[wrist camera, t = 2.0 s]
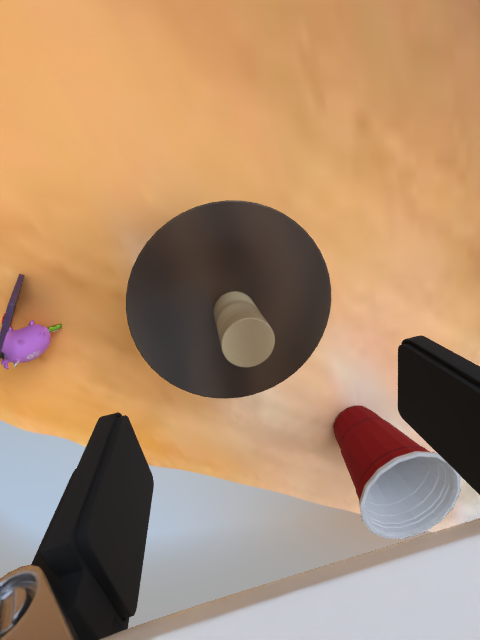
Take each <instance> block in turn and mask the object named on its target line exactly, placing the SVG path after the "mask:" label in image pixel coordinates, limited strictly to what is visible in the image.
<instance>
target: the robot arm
mask: <svg viewBox="0 0 480 640" xmlns="http://www.w3.org/2000/svg"><path fill="white" fill-rule="evenodd" d="M398 411H399V413H400V415H401V417H402V418H403V419H404V420H405V421H406V422H407V423H408V424H409V425H410V426H411V427H412V428H413V429H414V430H415V431H416V432H417V433H418V434H419V435H420V436H421V437H422V438H423V439H424V440H425V441H426V442H427V443H428V444H429V445H430V446H431V447H432V448H433V449H434V450H435V451H436V452H437V453H438V454H439V455H440V456H441V457H442V458H443V459H444V460H445V461H446V462H447V463H448V464H449V465H450V466H451V467H452V468H453V469H454V470H455V471H456V472H457V473H458V474H459V475H460V476H461V477H462V478H463V479H464V480H465V481H466V482H467V483H468V484H469V485H470V486H471V487H472V488H473V489H474V490H475V491H477V492H478V493H479V494H480V367H479V366H478V365H476V364H474V363H472V362H470V361H468V360H467V359H465V358H463V357H461V356H459V355H457V354H456V353H454V352H452V351H450V350H448V349H446V348H445V347H443V346H441V345H439V344H437V343H435V342H433V341H432V340H430V339H428V338H426V337H424V336H416V337H412V338H409V339H405V340H403V342H402V345H400V346H399V347H398ZM153 486H154V483H153V476H152V473H151V471H150V469H149V466H148V464H147V461H146V459H145V457H144V454H143V452H142V449H141V447H140V445H139V442H138V440H137V437H136V435H135V433H134V430H133V428H132V425H131V423H130V421H129V418H128V417H127V416H126V415H125V416H122V415H121V414H120V413H114V414H110V415H106V416H103V417H100V418H99V420H98V422H97V424H96V426H95V428H94V431H93V433H92V435H91V437H90V440H89V442H88V444H87V446H86V449H85V451H84V453H83V455H82V458H81V460H80V462H79V465H78V466H77V468H76V469H75V471H74V472H73V474H72V476H71V478H70V480H69V483H68V485H67V487H66V489H65V492H64V494H63V496H62V498H61V500H60V502H59V505H58V507H57V509H56V511H55V514H54V516H53V518H52V520H51V522H50V524H49V527H48V529H47V531H46V533H45V535H44V538H43V540H42V542H41V544H40V546H39V549H38V551H37V553H36V555H35V558H34V560H33V562H32V564H31V565H27V566H22V567H19V568H17V569H15V570H13V571H11V572H9V573H8V574H6V575H5V576H3V577H2V578H1V579H0V640H480V519H477V520H473V521H470V522H467V523H463V524H460V525H457V526H453V527H450V528H447V529H443V530H440V531H437V532H433V533H430V534H427V535H423V536H420V537H417V538H414V539H410V540H407V541H404V542H400V543H397V544H394V545H391V546H387V547H384V548H381V549H378V550H374V551H371V552H368V553H364V554H361V555H358V556H355V557H351V558H348V559H345V560H342V561H339V562H335V563H332V564H329V565H325V566H322V567H319V568H316V569H312V570H309V571H306V572H303V573H299V574H297V575H293V576H290V577H287V578H283V579H280V580H277V581H274V582H271V583H268V584H264V585H261V586H258V587H255V588H252V589H249V590H245V591H242V592H239V593H236V594H233V595H229V596H226V597H223V598H220V599H217V600H214V601H210V602H207V603H204V604H201V605H197V606H194V607H192V608H188V609H185V610H182V611H179V612H177V613H173V614H171V615H168V616H165V617H162V618H159V619H156V620H153V621H150V622H147V623H144V624H141V625H138V626H135V627H132V628H129V629H128V622H129V617H131V616H134V614H135V612H136V608H137V602H138V595H139V587H140V580H141V573H142V566H143V559H144V552H145V544H146V537H147V530H148V523H149V516H150V508H151V501H152V493H153Z"/></svg>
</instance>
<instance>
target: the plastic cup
mask: <svg viewBox="0 0 480 640" xmlns="http://www.w3.org/2000/svg"><path fill="white" fill-rule="evenodd" d="M334 433H335V437H336V439H337V442H338V444H339V447H340V449H341V453H342V456H343V458H344V461H345V463H346V466H347V468H348V471H349V473H350V476H351V478H352V481H353V483H354V486H355V488H356V493H357V495H358V498H359V504H360V510H361V517H362V521H363V522H364V524H365V525H366V526H367V527H368V528H369V530H370V531H371V532H372V533H374V534H376V535H379V536H382V537H384V538H387V539H396V538H398V539H400V538H402V539H404V538H408V537H411V536H414V535H417V534H421V533H424V532H425V531H427V530H428V529H430V528H431V527H433V526H434V525H436V524H438V523H439V522H441V520H442V519H443V518H444V517H445V516H446V515H447V514H448V513H449V511H450V510H451V509H452V508H453V507H454V505H455V502H456V500H457V498H458V495H459V493H460V491H461V490H460V475H459V474H458V473H457V472H456V471H455V470H454V469H453V468H452V467H451V466H450V465H449V464H448V463H447V462H446V461H445V460H444V459H443V458H442V457H441V456H440V455H439V454H437V453H435V452H430V451H428V450H426V449H425V448H423V447H421V446H420V445H418V444H417V443H416V442H414V441H413V440H411V439H410V438H409V437H407V436H406V435H405V434H403V433H402V432H401V431H399V430H398V429H397V428H395V427H394V426H392V425H391V424H390V423H388V422H387V421H385V420H383V419H382V418H381V417H379V416H378V415H377V414H375V413H374V412H373V411H371V410H369V409H367V408H365V407H363V406H353V407H350V408H347V409H346V410H344V411H343V412H341V413H340V414H339V416H338V417H337V418H336V420H335V423H334Z"/></svg>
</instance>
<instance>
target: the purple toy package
mask: <svg viewBox="0 0 480 640" xmlns="http://www.w3.org/2000/svg"><path fill="white" fill-rule="evenodd" d="M23 279H24V275H21V274H19V277H18V279H17V282H16V285H15V287H14V290H13V293H12V295H11V298H10V300H9V303H8V307H7V310H6V313H5V314H4V316H3V319H2V322H3V323H2V324H3V325H2V328H1V332H0V361H1V358H2V359H3V361H2V362H1V365H2V364H4V368H6V369H9V368H8V362H13V363H14V367H16V365H17V364H18V363H23V362H28V361H31V360H33V359H35V358H37V357H39V356H40V355H41V354H42V353H43V352H44V351H45V350H46V349H47V348H48V346H49V344H50V341H51V335H50V333H51V332H55V330H57V331H58V329H59V328H62V325H61V324H58V325H54V326H51V327H48V328H46V327H44V326H42V325H35V324H34V321H33V320H32V321H31V322H30V324H29V326H27V327H24V328H21V329H18V330H13V329H12V328H11V327H10V324H11V321H12V317H13V314H14V310H15V307H16V303H17V300H18V296H19V293H20V289H21V286H22V282H23Z"/></svg>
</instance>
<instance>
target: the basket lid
mask: <svg viewBox="0 0 480 640" xmlns="http://www.w3.org/2000/svg"><path fill="white" fill-rule="evenodd" d="M330 306H331V285H330V278H329V273H328V270H327V266H326V263H325V261H324V259H323V256H322V254H321V252H320V250H319V249H318V247H317V245H316V244H315V242H314V240H313V239H312V238H311V237H310V236H309V235H308V233H307V232H306V231H305V230H304V229H303V228H302V227H301V226H300V225H298V224H297V223H296V222H295V221H294V220H292V219H291V218H289V217H288V216H286V215H285V214H283V213H281V212H279V211H277V210H275V209H273V208H270V207H267V206H264V205H261V204H258V203H252V202H246V201H220V202H212V203H208V204H204V205H201V206H197V207H195V208H192V209H190V210H188V211H186V212H183V213H181V214H180V215H178V216H177V217H175V218H173V219H172V220H170V221H169V222H167V223H166V224H165V225H164V226H163V227H161V228H160V229H159V230H158V231H157V232H156V233H155V234H154V235H153V236H152V237H151V239H150V240H149V241H148V242H147V243H146V245H145V246H144V248H143V249H142V251H141V252H140V254H139V255H138V258H137V260H136V262H135V264H134V266H133V268H132V271H131V275H130V278H129V281H128V287H127V293H126V313H127V320H128V325H129V329H130V332H131V336H132V338H133V340H134V342H135V345H136V347H137V349H138V350H139V352H140V353H141V355H142V357H143V358H144V359H145V361H146V362H147V363H148V364H149V365H150V367H151V368H152V369H153V370H154V371H155V372H156V373H158V374H159V375H160V376H161V377H162V378H164V379H165V380H167V381H168V382H169V383H171V384H173V385H174V386H176V387H178V388H180V389H182V390H185V391H187V392H190V393H193V394H196V395H200V396H204V397H211V398H238V397H244V396H249V395H253V394H256V393H259V392H262V391H265V390H267V389H269V388H271V387H274V386H275V385H277V384H279V383H281V382H282V381H284V380H285V379H287V378H288V377H289V376H291V375H292V374H293V373H295V372H296V371H297V370H298V369H299V368H300V367H301V366H302V365H303V364H304V363H305V362H306V361H307V359H308V358H309V357H310V356H311V354H312V353H313V351H314V350H315V348H316V347H317V345H318V343H319V341H320V340H321V338H322V336H323V333H324V330H325V328H326V325H327V322H328V317H329V313H330Z"/></svg>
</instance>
